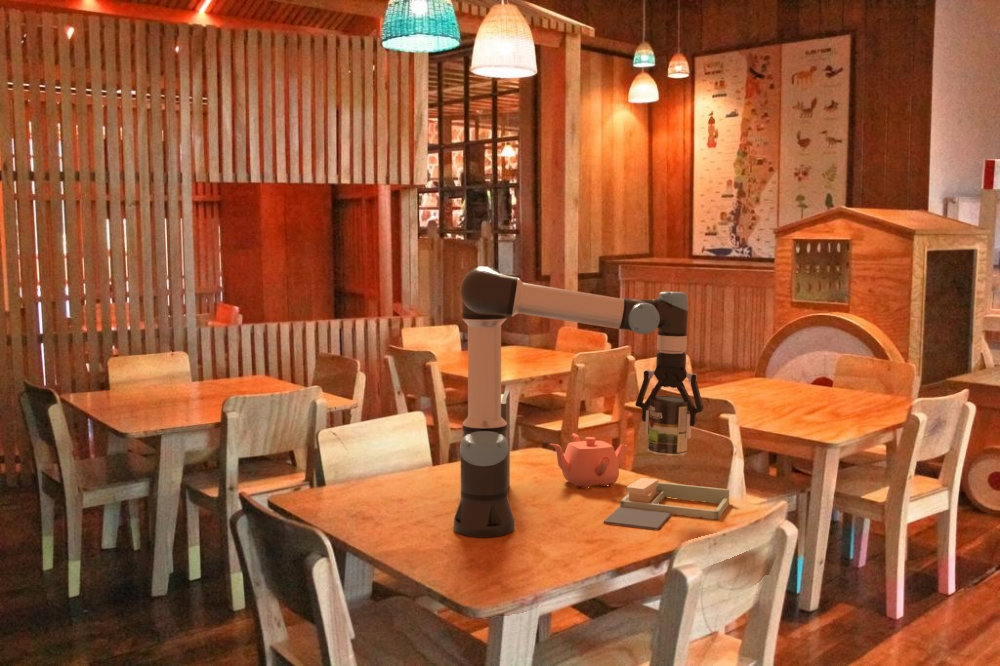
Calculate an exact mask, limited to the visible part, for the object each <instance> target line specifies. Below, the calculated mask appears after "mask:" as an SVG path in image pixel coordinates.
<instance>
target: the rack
mask: <svg viewBox="0 0 1000 666" xmlns="http://www.w3.org/2000/svg"><path fill="white" fill-rule="evenodd" d="M664 497H671V498H677V499H676V500H680V499H685V500H684V501H689V500H694V501H693V502H698V501H705V502H704V503H707V502H711V503H710V504H716V503H717V504H718V506H717V507H716V508H715V510H714V509H705V508H696V507H688V506H687V507H686V506H678V505H669V504H660V503H661V502H662V501H663V500H664V499H665V498H664ZM663 498H664V499H663ZM671 498H670V499H671ZM662 499H663V500H662ZM661 500H662V501H661ZM660 501H661V502H660ZM659 502H660V503H659ZM658 503H659V504H658ZM729 505H730V488H720V487H711V486H710V487H709V486H700V485H699V486H698V485H690V484H681V483H671V482H663V481H659V479H657V478H656V479H655V478H647V477H640V478H639V479H635V480H634V482H632V483H631V484H628V485H627V486H626V495H625V496H623V498H622V499H620V504H619V507H624V508H633V509H641V510H650V511H659V512H667V513H671V515H675V514H678V515H677V516H683V515H684V516H685V517H694V518H700V517H702V518H701V519H711V520H719V519H720V517H721V516H722V514H723V513H724V511H726V509H727V507H728V506H729Z"/></svg>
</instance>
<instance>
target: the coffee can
mask: <svg viewBox="0 0 1000 666" xmlns="http://www.w3.org/2000/svg"><path fill="white" fill-rule="evenodd" d="M687 405H688V402H684V400H683V398H682V396H676V395H675V396H673V395H656V397H655V398H650V406H649V409H650V418H649V435H648V441H647V442H648V443H647V452H648V453H649V454H652V455H654V456H655V455H657V456H661V457H683V456H685V455H687V454H688V439H686V425H687V414H688V413H690V412H689V410H688V408H687Z"/></svg>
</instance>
